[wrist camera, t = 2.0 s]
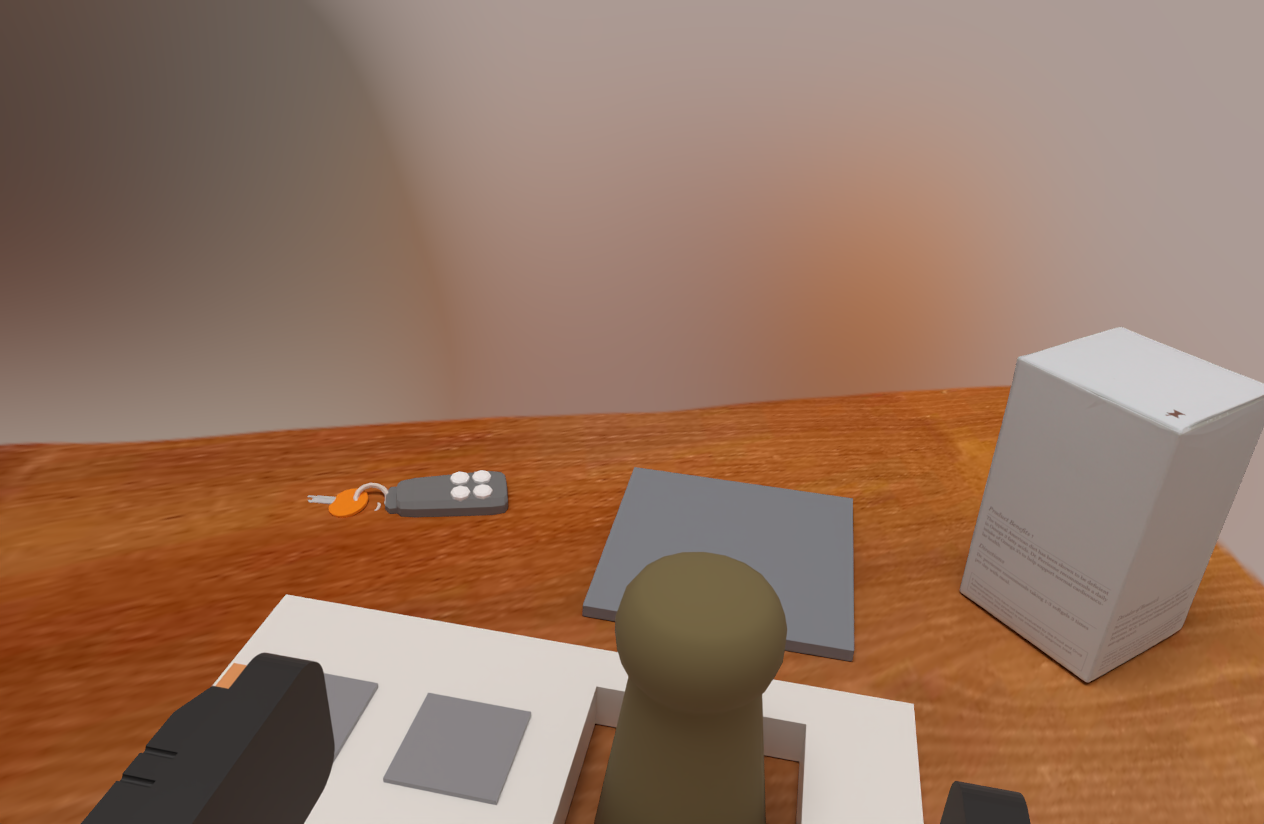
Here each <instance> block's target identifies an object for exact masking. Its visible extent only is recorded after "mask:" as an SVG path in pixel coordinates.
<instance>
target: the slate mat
mask: <svg viewBox="0 0 1264 824" xmlns="http://www.w3.org/2000/svg"><path fill="white" fill-rule="evenodd" d="M681 552H708V553H714V554H720V555H725V556H728V557H731V558H733V559H736V560H738V561H741V562H744V563H746V564H747V565H749V566H750V567H752V568H753V569H755V570H756V571H758V572H759V573H761V574H762V575H763V577H764V578H765V579H766V580H767V581H768V583H769V584H770V585H771V586H772V587H773V589H774V591H775V592H776V594H777V595H778V597H779V599H780V602H781V605H782V608H783V610H784V613H785V617H786V624H787V637H786V645H785V650H787V651H793V652H799V653H805V654H811V655H817V656H822V657H828V658H834V659H840V660H846V661H852V659H853V654H854V585H853V499H852V498H845V497H838V496H831V495H824V494H817V493H810V492H803V491H796V490H789V489H782V488H776V487H769V486H762V485H755V484H748V483H741V482H734V481H727V480H720V479H713V478H706V477H699V476H692V475H685V474H678V473H671V472H664V471H657V470H650V469H643V468H636V467H634V470H633V473H632V475H631V478H630V481H629V483H628V486H627V489H626V491H625V494H624V497H623V500H622V502H621V505H620V508H619V510H618V513H617V516H616V518H615V521H614V524H613V526H612V529H611V532H610V534H609V537H608V540H607V542H606V545H605V548H604V550H603V553H602V556H601V558H600V561H599V564H598V566H597V569H596V572H595V574H594V577H593V580H592V582H591V585H590V588H589V590H588V593H587V596H586V598H585V601H584V604H583V616H587V617H592V618H598V619H604V620H610V621H615V617H616V613H617V611H618V608H619V605H620V602H621V600H622V597H623V594H624V592H625V589H626V586H627V585H628V584H629V583H630V582H631V581H632V580H633V579H634V578H635V577H636V576H637V575H638V574H639V573H640V572H641V571H642V570H643V569H644V568H645V566H646V565H648V564H650V563H652V562H654V561H656V560H658V559H660V558H662V557H664V556H668V555H673V554H677V553H681Z"/></svg>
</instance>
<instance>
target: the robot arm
mask: <svg viewBox="0 0 1264 824" xmlns="http://www.w3.org/2000/svg"><path fill="white" fill-rule="evenodd" d="M334 752H335V743H334V735H333V729H332V722H331V716H330V709H329V703H328V697H327V690H326V684H325V677H324V672H323V669H322V666H321V665H320V664H319V663H318V662H315V661H310V660H304V659H299V658H293V657H288V656H282V655H277V654H271V653H265V652H264V653H260V654H258V655H257V656H255V657H254V658H253V659H252V660H251V661H250V662H249V663H248V665H247V666H246V667H245V668H244V670H243V671H242V672H241V674H240V675H239V676H238V677H237V679H236V680H235V681H234V682H233V684H232V685H231V686H230V687H229V689H227V688H222V687H217V686H212V687H210V688H209V689H207V690H206V691H204V692H203V693H201V694H200V695H198V696H197V697H195V698H194V699H193V700H191V701H190V702H188V703H187V704H185V705H184V706H182V707H181V708H179V709H178V710H176V711H175V712H174V713H173V714H172V715H171V716H170V717H169V719H168V720H167V721H166V722H165V723H164V725H163V726H162V727H161V728H160V729H159V731H158V732H157V733H156V734H155V735H154V737H153V738H152V739H151V740H150V741H149V743H148V744H147V745H146V749H145V751H144V753H139V755H138V756H137V757H136V758H135V759H134V761H133V762H132V763H131V764H130V765H129V767H128V768H127V769H126V770H125V771H124V773H123V776H122V779H121V780H120V781H116V782H115V783H114V785H113V786H112V787H111V788H110V789H109V791H108V792H107V793H106V794H105V795H104V797H103V798H102V799H101V800H100V801H99V803H98V804H97V805H96V806H95V807H94V809H93V810H92V811H91V812H90V813H89V815H88V816H87V817H86V818H85V819H84V821H83V822H82V823H81V824H304V823H305V821H306V819H307V818H308V816H309V814H310V813H311V811H312V809H313V808H314V806H315V804H316V803H317V801H318V799H319V798H320V796H321V794H322V792H323V790H324V788H325V786H326V784H327V781H328V779H329V776H330V772H331V769H332V765H333V760H334ZM940 824H1030V819H1029V814H1028V809H1027V805H1026V802H1025V799H1024V797H1023V795H1022V794H1021V793H1019V792H1014V791H1008V790H1003V789H997V788H992V787H986V786H981V785H975V784H970V783H964V782H959V781H955V782H954V783H953V784H952V786H951V788H950V791H949V795H948V798H947V802H946V805H945V808H944V812H943V815H942V819H941V822H940Z"/></svg>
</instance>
